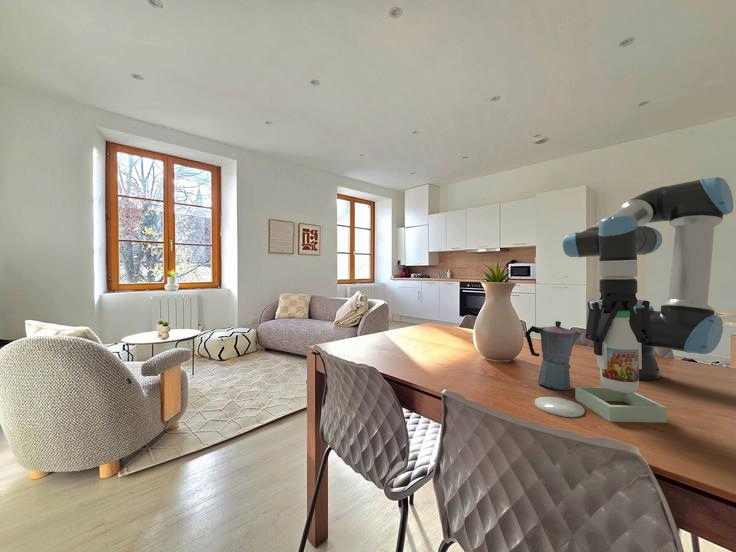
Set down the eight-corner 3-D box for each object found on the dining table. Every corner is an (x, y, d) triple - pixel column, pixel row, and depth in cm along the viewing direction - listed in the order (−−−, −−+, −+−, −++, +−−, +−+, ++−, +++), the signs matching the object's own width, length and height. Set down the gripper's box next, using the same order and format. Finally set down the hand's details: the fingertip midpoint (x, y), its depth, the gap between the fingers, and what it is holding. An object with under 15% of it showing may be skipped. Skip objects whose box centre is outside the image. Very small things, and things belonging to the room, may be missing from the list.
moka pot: (588, 393, 91) (588, 324, 91) (530, 389, 94) (530, 322, 94) (573, 381, 100) (573, 319, 100) (521, 378, 103) (521, 318, 103)
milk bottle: (592, 383, 83) (591, 308, 83) (619, 381, 84) (618, 307, 84) (618, 394, 76) (617, 312, 75) (647, 392, 76) (647, 311, 76)
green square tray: (624, 399, 86) (624, 387, 86) (667, 422, 73) (667, 407, 73) (575, 399, 86) (575, 386, 86) (609, 421, 74) (609, 406, 73)
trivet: (568, 399, 87) (568, 397, 87) (594, 417, 76) (595, 415, 76) (527, 398, 87) (527, 396, 87) (548, 416, 76) (548, 414, 76)
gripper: (647, 276, 83) (648, 362, 83) (567, 278, 84) (568, 363, 84) (673, 277, 75) (674, 371, 76) (585, 279, 76) (587, 373, 77)
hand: (618, 367), depth 80 cm, fingers closed on milk bottle, 8 cm apart
